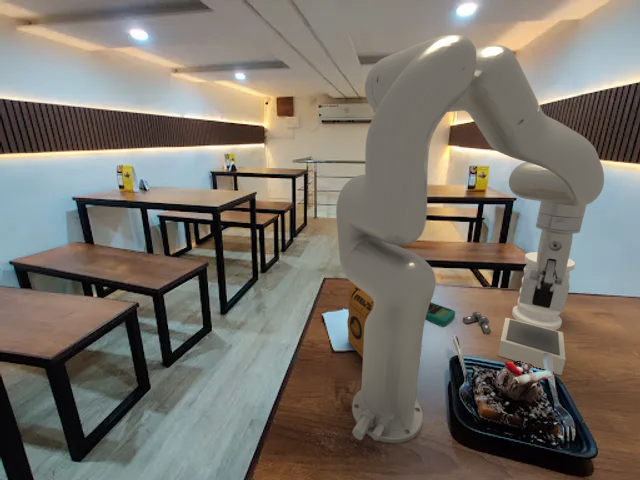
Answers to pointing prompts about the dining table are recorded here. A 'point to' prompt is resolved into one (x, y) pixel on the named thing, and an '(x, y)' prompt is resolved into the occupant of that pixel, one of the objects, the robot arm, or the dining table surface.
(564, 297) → the housing
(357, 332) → the coffee package
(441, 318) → the digital multimeter
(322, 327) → the dining table surface
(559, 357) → the stand
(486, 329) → the bolt
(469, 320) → the bolt
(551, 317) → the decorative container
